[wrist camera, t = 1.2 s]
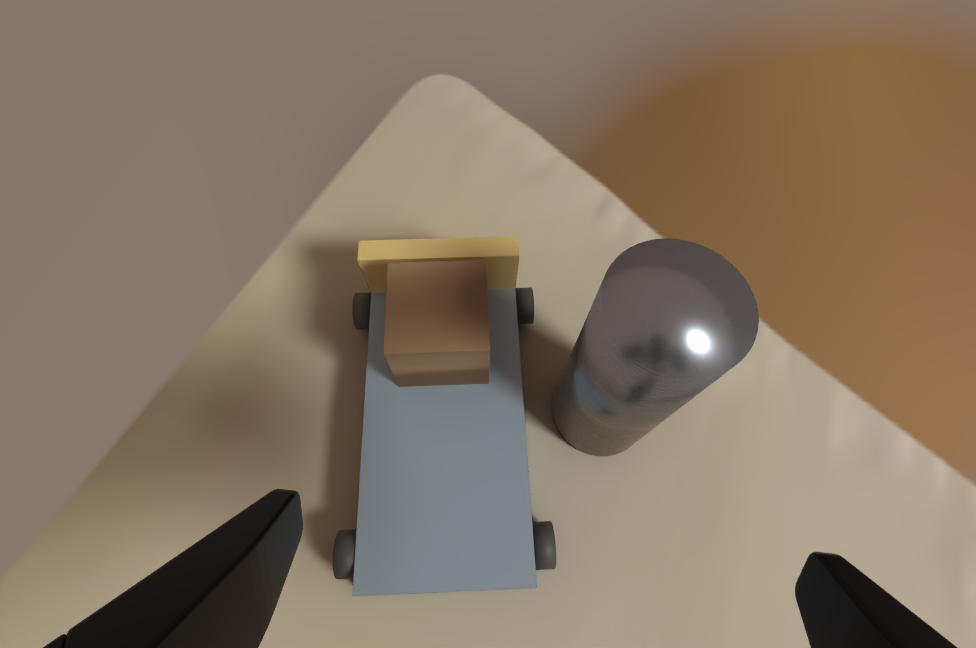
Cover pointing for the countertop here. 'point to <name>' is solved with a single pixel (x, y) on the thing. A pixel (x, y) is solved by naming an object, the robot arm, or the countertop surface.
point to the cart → (444, 449)
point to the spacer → (652, 343)
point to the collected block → (437, 323)
